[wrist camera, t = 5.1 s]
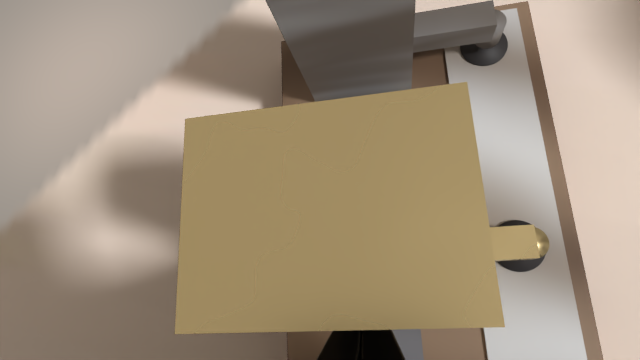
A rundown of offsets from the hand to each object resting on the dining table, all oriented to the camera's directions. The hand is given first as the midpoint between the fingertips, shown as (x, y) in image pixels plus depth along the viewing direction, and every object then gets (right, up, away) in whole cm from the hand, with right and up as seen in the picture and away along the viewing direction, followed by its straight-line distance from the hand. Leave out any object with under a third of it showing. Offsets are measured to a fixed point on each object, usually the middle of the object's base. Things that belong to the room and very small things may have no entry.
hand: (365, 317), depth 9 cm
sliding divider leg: (+3, +1, +5) cm, 6 cm away
